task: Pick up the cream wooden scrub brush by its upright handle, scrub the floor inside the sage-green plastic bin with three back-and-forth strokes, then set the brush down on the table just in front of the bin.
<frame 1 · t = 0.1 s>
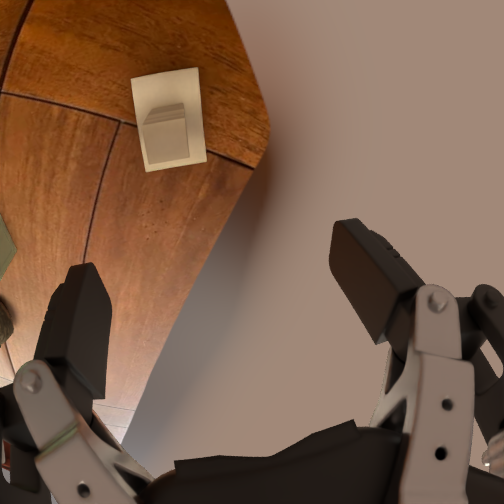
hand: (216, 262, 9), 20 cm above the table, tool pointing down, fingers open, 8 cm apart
potted plant: (16, 427, 57), on the table
scrub brush: (170, 114, 24), on the table
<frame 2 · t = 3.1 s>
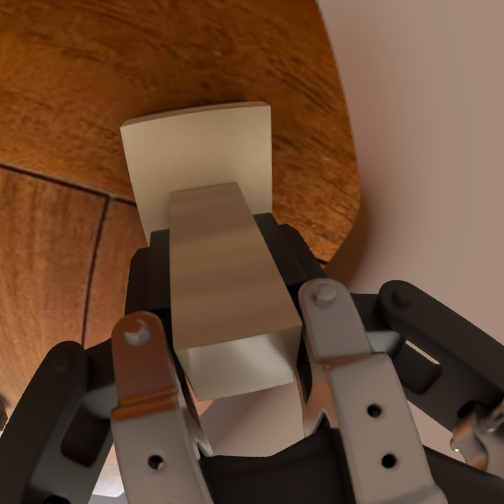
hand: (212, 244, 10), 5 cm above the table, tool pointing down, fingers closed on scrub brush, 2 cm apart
scrub brush: (201, 184, 14), on the table, touching gripper
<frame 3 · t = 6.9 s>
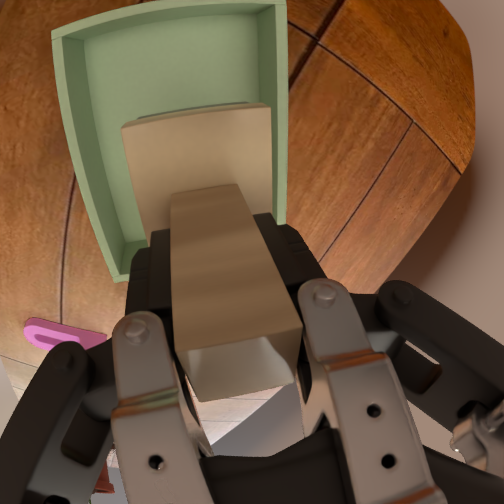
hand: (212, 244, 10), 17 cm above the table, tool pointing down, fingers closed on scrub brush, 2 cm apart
bracket: (64, 335, 35), on the table
bin: (178, 130, 23), on the table
potted plant: (87, 439, 61), on the table
scrub brush: (201, 185, 14), point 12 cm above the table, touching gripper
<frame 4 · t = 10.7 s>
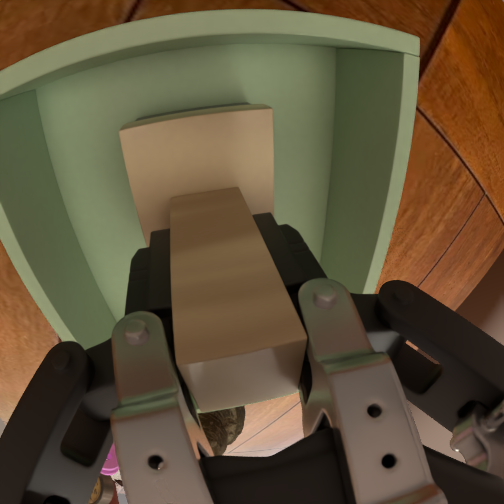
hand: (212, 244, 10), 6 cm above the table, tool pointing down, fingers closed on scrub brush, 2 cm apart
bracket: (72, 417, 28), on the table
bin: (204, 233, 17), on the table
alarm clock: (85, 453, 38), on the table
scrub brush: (201, 187, 14), point 1 cm above the table, touching gripper
seashell: (189, 400, 29), on the table
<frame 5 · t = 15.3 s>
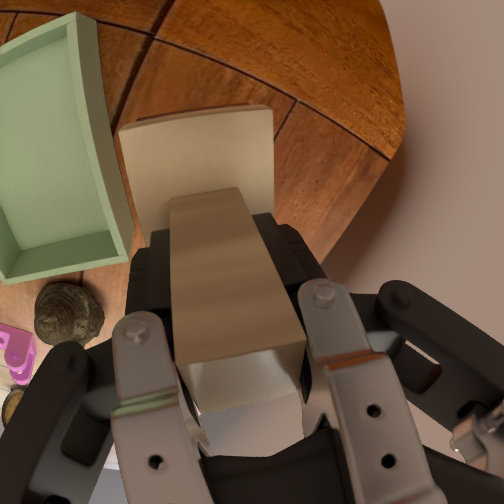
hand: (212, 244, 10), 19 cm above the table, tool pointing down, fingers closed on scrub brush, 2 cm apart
bracket: (2, 332, 33), on the table
bin: (40, 150, 21), on the table
alarm clock: (26, 389, 43), on the table
scrub brush: (201, 188, 14), point 14 cm above the table, touching gripper
seashell: (71, 308, 33), on the table
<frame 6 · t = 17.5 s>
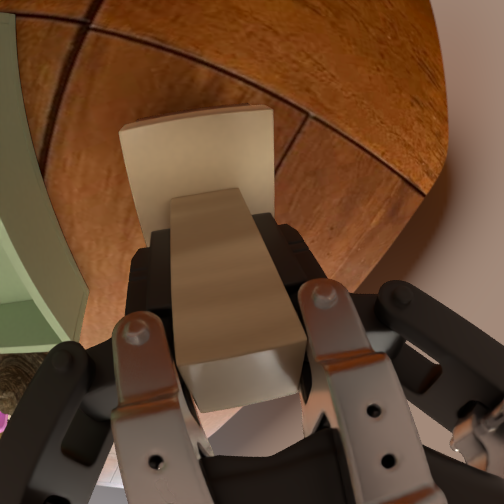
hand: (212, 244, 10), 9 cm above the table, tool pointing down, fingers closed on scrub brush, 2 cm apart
scrub brush: (201, 188, 14), point 4 cm above the table, touching gripper
seashell: (37, 365, 25), on the table
when the fingers open (5 cm above the table, at t = 18.8 s): scrub brush stays where it is, on the table.
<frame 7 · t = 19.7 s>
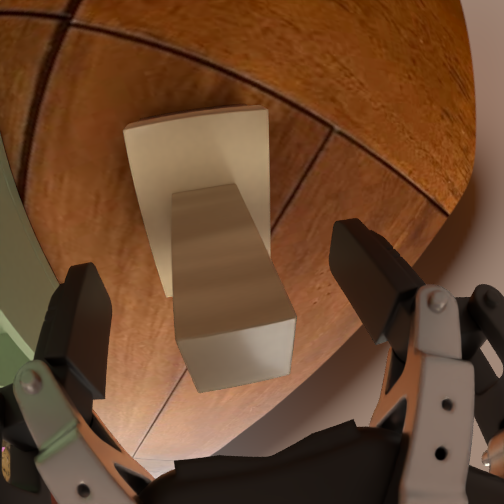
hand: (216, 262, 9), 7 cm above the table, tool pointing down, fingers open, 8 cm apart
alarm clock: (7, 438, 32), on the table
scrub brush: (201, 185, 15), on the table
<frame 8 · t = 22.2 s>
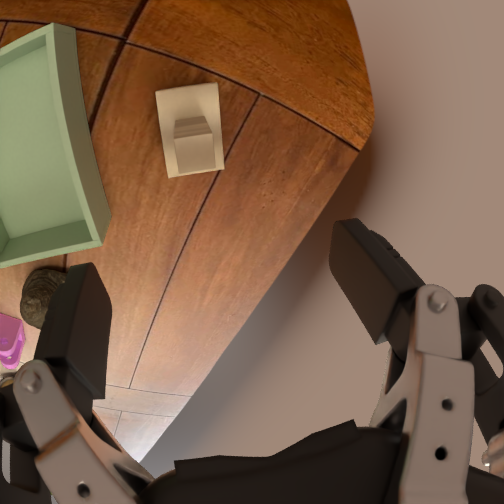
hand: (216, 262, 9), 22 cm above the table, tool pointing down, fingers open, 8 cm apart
bin: (27, 146, 22), on the table
scrub brush: (189, 124, 27), on the table
seashell: (56, 295, 35), on the table
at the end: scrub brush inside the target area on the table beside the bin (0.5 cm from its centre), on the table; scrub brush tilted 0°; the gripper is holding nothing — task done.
